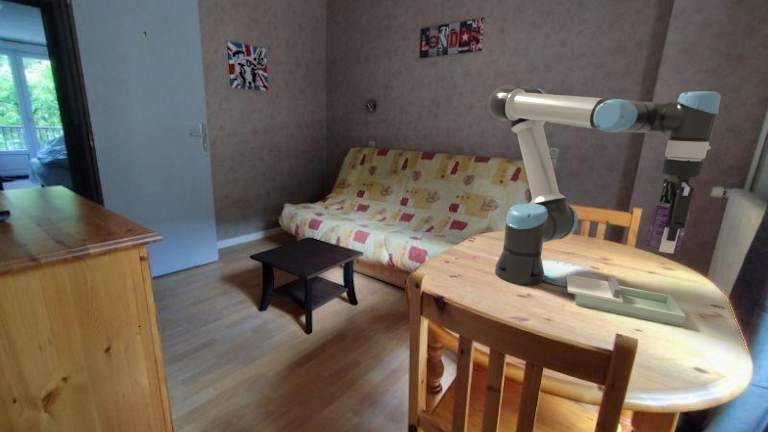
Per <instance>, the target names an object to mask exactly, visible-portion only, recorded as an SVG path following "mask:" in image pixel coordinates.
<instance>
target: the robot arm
mask: <svg viewBox="0 0 768 432" xmlns="http://www.w3.org/2000/svg"><path fill="white" fill-rule="evenodd" d="M721 97H722V96H721V94H720V93H719V92H717V91H710V90H709V91H708V90H707V91H706V90H705V91H704V90H703V91H702V90H701V91H685V92H682V93H680V94H679V97H678V98H677V100H675V101H664V102H663V101H661V102H660V101H659V102H658V101H654V102H653V101H652V102H651V101H638V100H629V99H623V98H601V97H589V96H579V95H578V96H575V95H565V94H564V95H563V94H550V93H549V94H548V93H546V92H545V91H544V90H542V89H540V88H538V87H534V86H519V85H512V84H511V85H510V84H508V85H503V86H500V87H498V88H497V89H495V90H494V91H493V92H492V93H491V95H490V97H489V99H488V110H489V113H490V115H491V116H492V117H493V118H494V119H496V120H499V121H501V122H502V121H503V122H509V126H510V129H511V131H512V132H514V133H516V135H517V139H518V143H519V148H520V152H521V157H522V161H523V164H524V169H525V172H526V178H527V182H528V185H529V191H530V195H531V201H529V203H518V204H515V205H513V206H511V207H510V208H509V209H508V211H507V217H506V219H505V231H504V238H503V239H504V240H503V248H502V252H501V253H500V255H499V257H498V259H497V261H496V264H495V268H494V273H495V274H496V276H498V277H499V278H500V279H502V280H505V281H506V282H509V283H512V284H517V285H521V286H522V285H524V286H528V285H529V286H534V285H539V284H541V283H543V281H544V278H545V270H544V266H543V265H544V264H543V260H542V253H543V251H542V250H543V247H544V246H543V245H544V244H545V243H546V242H551V241H555V240H562V239H564V238H566V237H568V236H570V235H572V234H573V233H574V232H575V230H576V229H577V227H578V221H579V217H578V213H577V212H576V209H575V208H573V207H572V206H571V205H569V204H568V203H567V202H568V201H567V198H566V196H564V195H563V194H561V192H560V191H559V187H558V182H557V178H556V174H555V170H554V167H553V166H554V165H553V162H552V157H551V153H550V149H549V146H548V145H549V144H548V142H547V138H546V132H545V128H544V125H545V124H546V123H552V124H559V125H564V126H565V125H566V126H572V127H580V128H587V129H595V130H599V131H601V132H605V133H612V134H613V133H614V134H617V133H635V134H636V133H644V134H645V133H647V134H648V133H650V134H651V133H652V134H653V133H655V134H658V133H659V134H662V133H663V134H669V138H668V141H667V145H666V149H665V154H664V156H665V157H666V158H665V159H664V160H663V162H662V168H661V171H660V172H661V173H662V174H663V175H668V176H669V177H668V178H664V179H663V180H662V188H661V190H660V195H659V198H658V202H657V204H658V203H659V202H665V203H669V204H670V208H669V216H668V224H667V225H664V227H665V229H664V233H663V237H662V241H661V245H660V249H659V251H658V252H659V253H660V252H661V253H668V254H674V253H675V252H674V249H675V245H676V241H677V237H678V234H679V230H680V229H681V228H685V223H686V218H687V214H688V212H689V208H690V204H691V199H692V196H693V193H694V190H695V189H694V186H691V184H690V179H691V178H697V177H700V176H701V175H702V172H703V168H704V165H705V162H704V160H703V159H706V157H707V156H706V155H707V153H708V152H707V151H710V150H711V148H712V147H711V146H710V142H711V138H712V133H713V131H714V127H715V124H716V121H717V117H718V115H719V108H720V103H721ZM702 160H703V161H702ZM676 222H678V223H676Z"/></svg>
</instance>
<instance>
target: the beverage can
mask: <svg viewBox="0 0 768 432" xmlns="http://www.w3.org/2000/svg"><path fill="white" fill-rule="evenodd" d="M669 208H670V204H669V203H665V202H659V203H658V202H657V205H656V206H655V208H654V209H653V212H652V216H651V220H650V223H649V228H648V233H647V235H646V239H645V245H646V246H647V247H648V248H650V249H651V250H654V251H657V252H660V251H659V249H660V245H661V241H662V237H663V233H664V229H665V227H664V225H667V224H668V216H669ZM689 218H690V213H689V211H688V214H687V218H686V223H685V228H681V229H680V230H679V234H678V237H677V241H676V245H675V249H674V253H676V252H680V251H681V247H682V243H683V239H684V236H685V233H686V229H687V228H686V227H687V226H688V222H689ZM676 223H678V222H676Z"/></svg>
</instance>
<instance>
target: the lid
mask: <svg viewBox="0 0 768 432" xmlns="http://www.w3.org/2000/svg"><path fill="white" fill-rule="evenodd" d="M565 277H566V278H565V279H566V288H567V293H569V294H573V295H574V294H579V295H584V296H589V297H594V298H599V299H604V300H609V301H614V302H619V303H623V299H622V297H621V294H620V292H621V289H620V287H619V286H620V285H619V283H618V281H617V278H616V276H615V275H611V274H609V275H608V278H607V280H601V279H595V278H591V277H584V276H578V275H575V274H574V275H573V274H568V273H566V275H565Z"/></svg>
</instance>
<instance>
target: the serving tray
mask: <svg viewBox="0 0 768 432" xmlns="http://www.w3.org/2000/svg"><path fill="white" fill-rule="evenodd" d="M619 287H620V289H621V292H620V294H621V297H622V299H623V303H619V302H614V301H609V300H604V299H599V298H594V297H589V296H584V295H579V294H574V293H573V297H574V298H573V299H574V304H575V305H577V306H580V307H581V306H582V307H586V308H592V309H596V310H602V311H606V312H610V313H614V314H615V313H616V314H619V315H625V316H630V317H635V318H639V319H643V320H644V319H646V320H648V321H649V320H650V321H653V322H659V323H662V324H667V325H668V324H669V325H672V326H677V327H682V328H683V327H684V323H685V320H686V314H685V313H684V311H683V310H682V309H681V308H680V307H679V305H678V303H677V302H676V301H675V299H674V298H673V296H672V295H671V294H664V293H660V292H656V291H655V292H653V291H649V290H644V289H643V290H642V289H638V288H632V287H627V286H626V287H625V286H621V285H619Z"/></svg>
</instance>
